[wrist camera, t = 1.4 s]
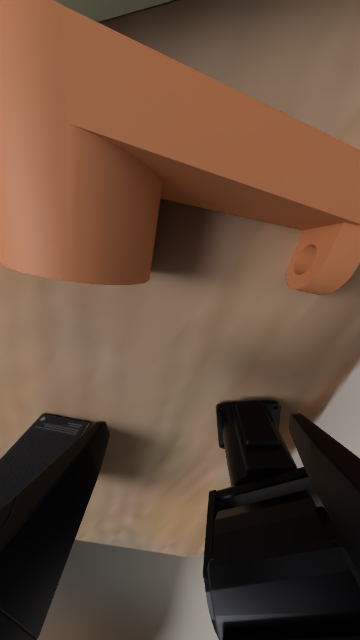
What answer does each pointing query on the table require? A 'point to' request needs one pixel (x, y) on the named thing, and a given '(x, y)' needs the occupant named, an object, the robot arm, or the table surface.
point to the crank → (150, 156)
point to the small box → (36, 452)
